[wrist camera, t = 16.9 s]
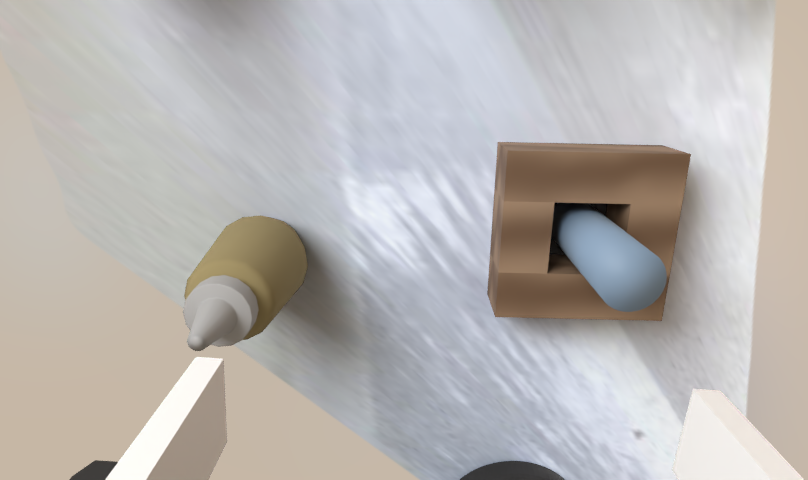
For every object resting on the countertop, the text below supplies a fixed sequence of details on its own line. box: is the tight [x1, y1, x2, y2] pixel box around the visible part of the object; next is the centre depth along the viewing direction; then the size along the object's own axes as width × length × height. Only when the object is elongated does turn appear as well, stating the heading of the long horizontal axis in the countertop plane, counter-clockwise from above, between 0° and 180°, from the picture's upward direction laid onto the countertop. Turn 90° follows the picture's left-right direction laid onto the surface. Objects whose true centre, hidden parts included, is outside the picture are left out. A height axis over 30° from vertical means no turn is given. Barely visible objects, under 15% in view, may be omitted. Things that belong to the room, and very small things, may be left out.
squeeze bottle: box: [183, 216, 308, 351], centre depth 41 cm, size 8×8×18 cm
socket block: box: [487, 142, 691, 321], centre depth 46 cm, size 14×14×5 cm
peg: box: [551, 203, 667, 312], centre depth 42 cm, size 4×4×14 cm
